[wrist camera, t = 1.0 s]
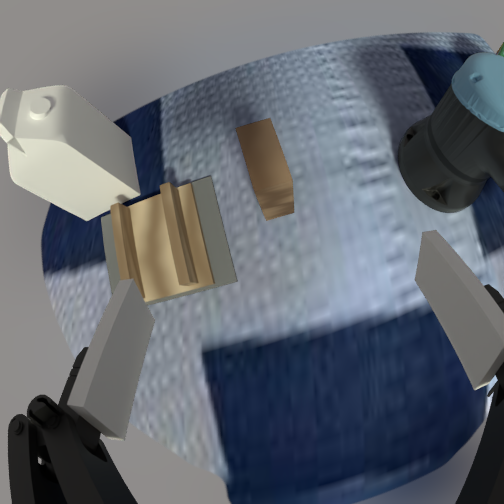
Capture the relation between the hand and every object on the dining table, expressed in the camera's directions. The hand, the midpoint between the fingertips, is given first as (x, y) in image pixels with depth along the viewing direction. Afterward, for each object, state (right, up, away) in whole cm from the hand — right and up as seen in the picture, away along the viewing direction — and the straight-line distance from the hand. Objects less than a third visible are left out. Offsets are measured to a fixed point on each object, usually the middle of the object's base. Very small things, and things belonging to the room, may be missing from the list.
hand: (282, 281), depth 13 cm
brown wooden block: (+2, +10, +29) cm, 31 cm away
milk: (-26, +14, +34) cm, 45 cm away
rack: (-15, +2, +30) cm, 34 cm away
